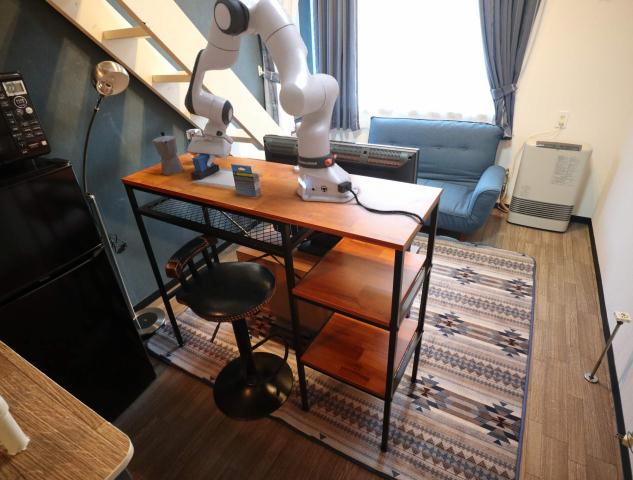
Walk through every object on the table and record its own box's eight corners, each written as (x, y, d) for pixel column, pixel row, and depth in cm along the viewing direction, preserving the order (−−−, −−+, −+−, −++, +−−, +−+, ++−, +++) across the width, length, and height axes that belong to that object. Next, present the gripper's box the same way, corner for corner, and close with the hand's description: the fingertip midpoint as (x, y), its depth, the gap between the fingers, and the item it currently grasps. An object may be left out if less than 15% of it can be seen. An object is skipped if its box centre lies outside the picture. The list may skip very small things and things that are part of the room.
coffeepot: (186, 174, 153) (175, 132, 144) (164, 178, 149) (151, 136, 140) (181, 164, 165) (171, 126, 156) (160, 168, 161) (148, 129, 152)
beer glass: (197, 159, 171) (189, 128, 163) (210, 159, 170) (203, 128, 162) (190, 164, 165) (182, 132, 157) (204, 164, 164) (197, 132, 156)
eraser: (219, 170, 151) (216, 152, 147) (200, 179, 142) (196, 160, 138) (211, 169, 153) (207, 151, 149) (191, 178, 144) (187, 159, 140)
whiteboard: (261, 175, 146) (260, 173, 145) (235, 191, 132) (234, 188, 132) (220, 170, 155) (220, 168, 154) (192, 184, 141) (191, 182, 141)
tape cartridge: (262, 195, 127) (257, 162, 121) (256, 199, 124) (251, 166, 118) (242, 192, 131) (236, 160, 124) (236, 196, 128) (230, 164, 121)
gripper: (190, 130, 148) (179, 159, 146) (228, 133, 140) (217, 164, 138) (199, 138, 154) (189, 166, 152) (236, 141, 146) (226, 171, 144)
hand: (202, 165), depth 145 cm, fingers closed on eraser, 3 cm apart
